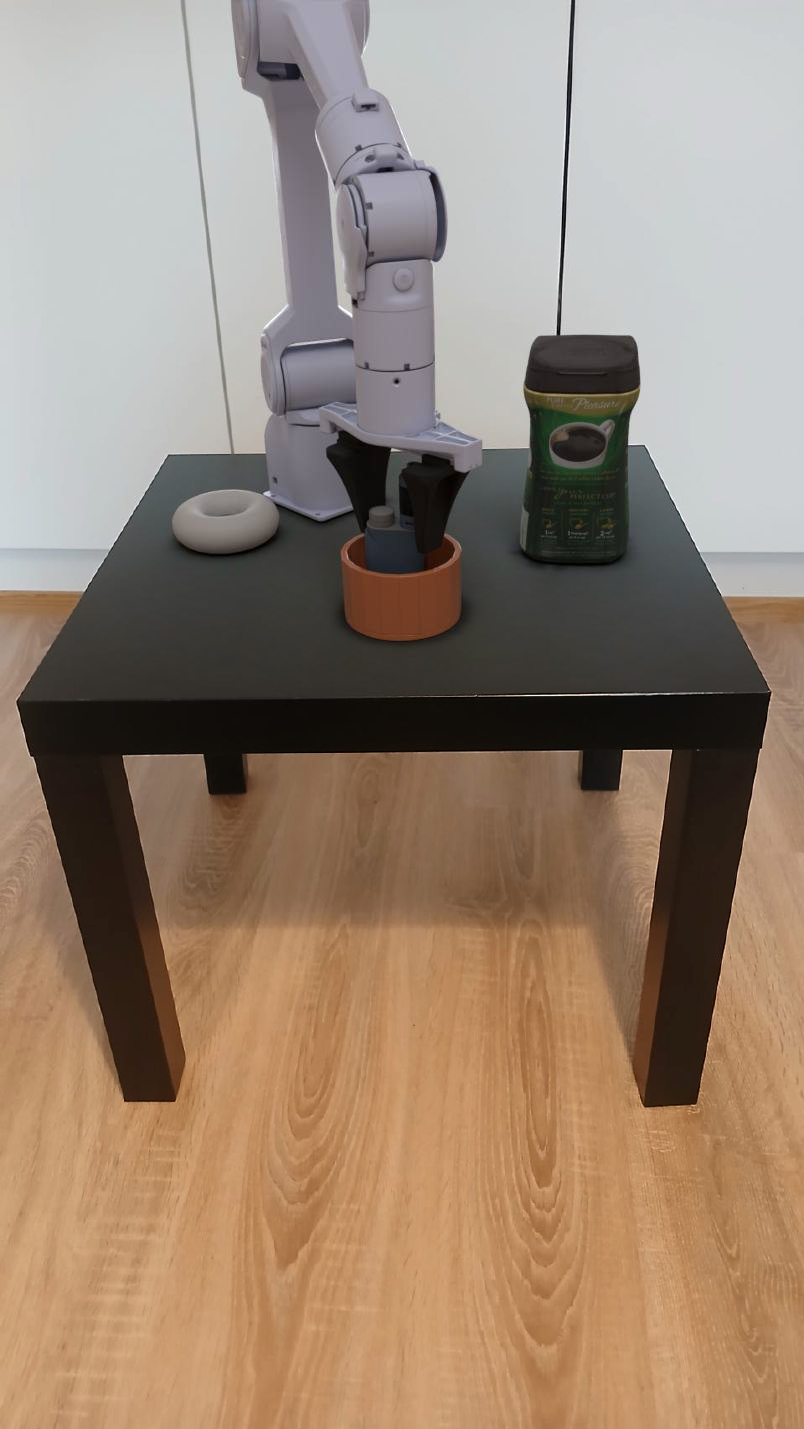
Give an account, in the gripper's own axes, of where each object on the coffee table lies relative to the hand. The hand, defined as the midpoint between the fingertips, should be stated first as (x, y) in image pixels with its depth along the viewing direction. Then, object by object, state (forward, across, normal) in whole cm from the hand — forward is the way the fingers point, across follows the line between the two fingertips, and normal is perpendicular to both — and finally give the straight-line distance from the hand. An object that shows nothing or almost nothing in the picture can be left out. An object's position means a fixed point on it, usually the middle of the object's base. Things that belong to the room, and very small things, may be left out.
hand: (400, 539), depth 82 cm
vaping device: (+6, 0, 0) cm, 6 cm away
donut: (+7, +23, -1) cm, 24 cm away
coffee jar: (+7, -4, -19) cm, 20 cm away
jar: (+6, 0, 0) cm, 6 cm away
